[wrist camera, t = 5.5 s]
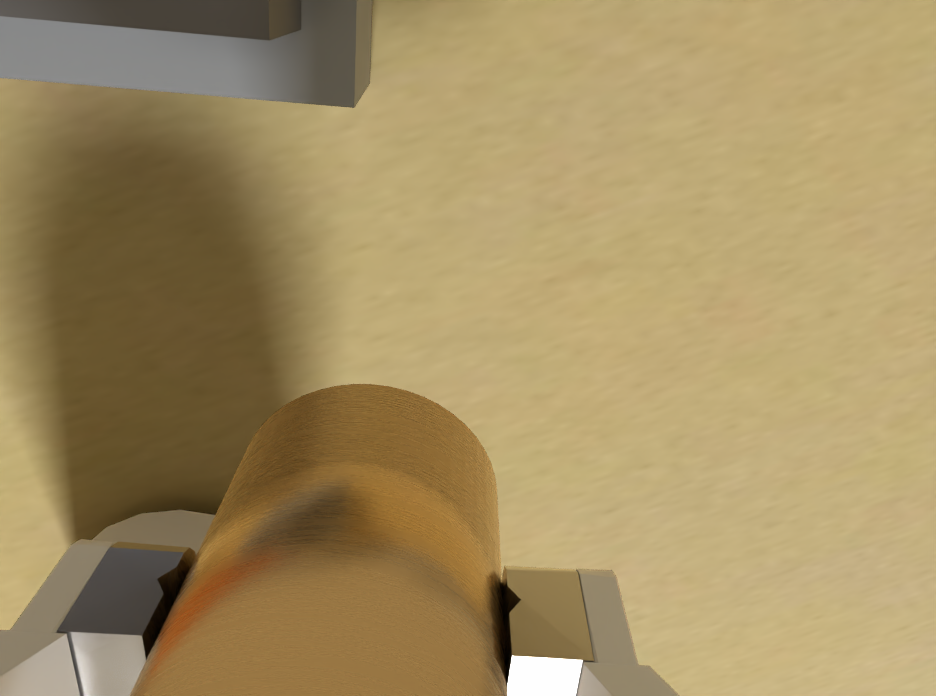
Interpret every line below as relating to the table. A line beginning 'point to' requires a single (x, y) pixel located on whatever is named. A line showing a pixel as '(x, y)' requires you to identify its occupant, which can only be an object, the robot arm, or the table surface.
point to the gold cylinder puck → (345, 561)
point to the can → (161, 529)
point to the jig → (194, 46)
